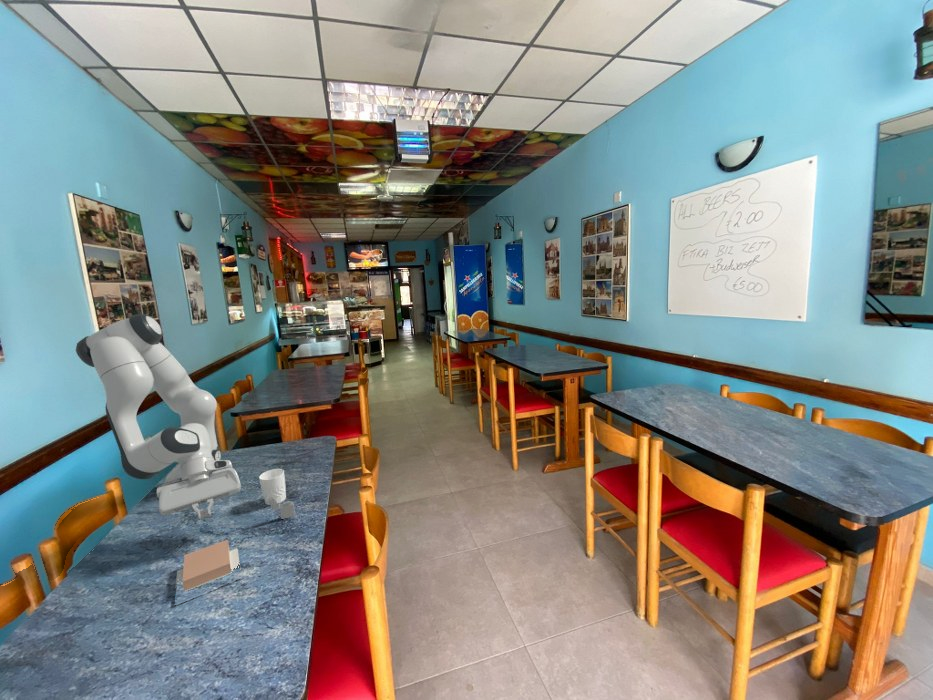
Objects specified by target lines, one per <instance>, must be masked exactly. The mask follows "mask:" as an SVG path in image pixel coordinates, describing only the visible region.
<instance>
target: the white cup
mask: <svg viewBox="0 0 933 700" xmlns="http://www.w3.org/2000/svg"><path fill="white" fill-rule="evenodd" d="M258 479H259V484H260V487H261V493H262V495H263V500H264V503H265V505H267V506H271V505H270V504H269V503H268V499H270V498H271V497H272V498H273V499H274V500H275V501H276V502H277V503H279V504H281V503H283V502H285V500H286V499H287V494H286V493H287V492H286V488H287V487H286V477H285V470H284V468H283V469H282V468H273V469H269V470H266V471H264V472H262V473H261V474H260V475H259V476H258Z"/></svg>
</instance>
